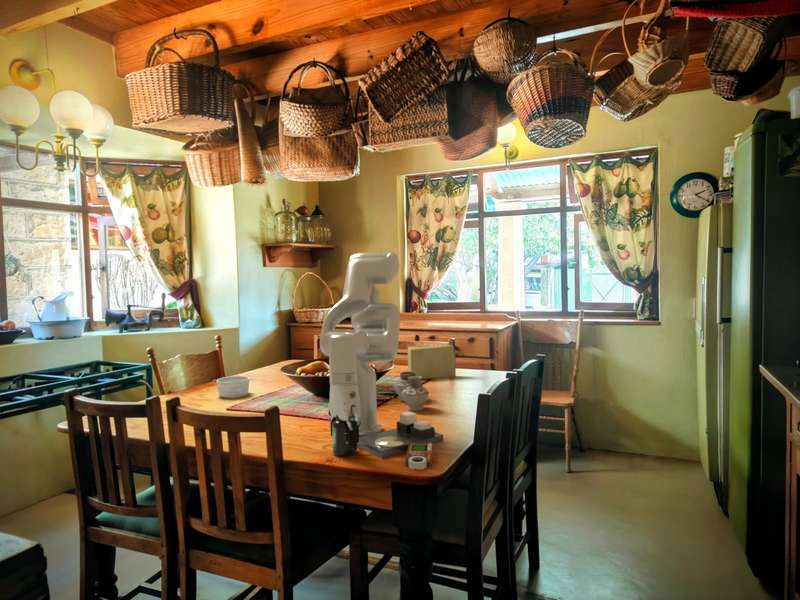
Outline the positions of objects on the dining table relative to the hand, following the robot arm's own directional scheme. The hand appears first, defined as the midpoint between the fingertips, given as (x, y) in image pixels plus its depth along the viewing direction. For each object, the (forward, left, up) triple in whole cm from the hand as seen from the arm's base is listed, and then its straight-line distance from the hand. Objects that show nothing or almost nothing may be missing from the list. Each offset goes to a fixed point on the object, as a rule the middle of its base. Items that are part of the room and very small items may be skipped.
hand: (344, 439), depth 148 cm
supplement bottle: (0, 0, -4) cm, 4 cm away
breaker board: (+3, +17, -4) cm, 17 cm away
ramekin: (-91, -1, -4) cm, 91 cm away
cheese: (-65, +85, -4) cm, 107 cm away
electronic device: (+17, +13, -5) cm, 22 cm away
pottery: (-31, +47, -4) cm, 57 cm away
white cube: (+6, +23, -2) cm, 24 cm away
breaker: (-1, +23, 0) cm, 23 cm away
